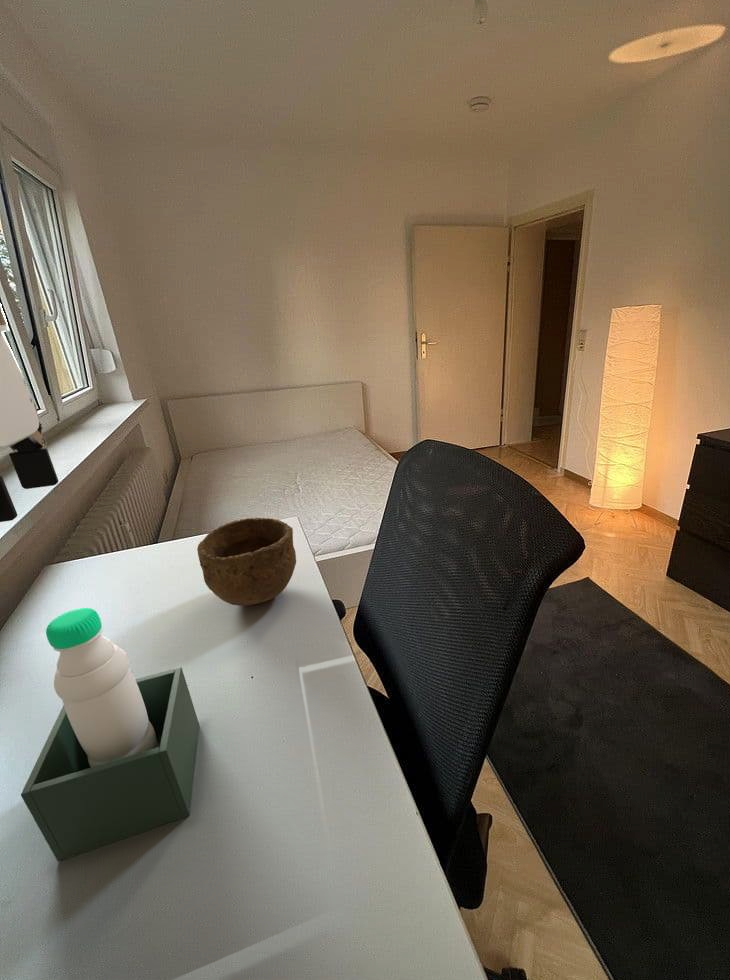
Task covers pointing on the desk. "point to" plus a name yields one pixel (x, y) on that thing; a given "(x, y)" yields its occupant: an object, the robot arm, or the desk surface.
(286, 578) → the bowl
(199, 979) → the desk surface
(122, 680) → the water bottle
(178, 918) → the desk surface
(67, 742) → the green storage bin
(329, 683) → the desk surface
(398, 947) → the desk surface
